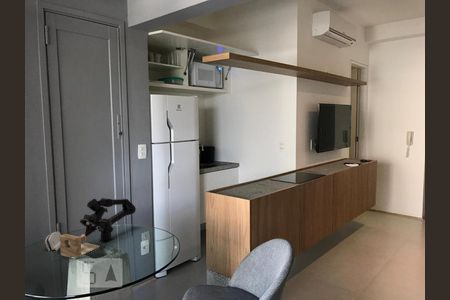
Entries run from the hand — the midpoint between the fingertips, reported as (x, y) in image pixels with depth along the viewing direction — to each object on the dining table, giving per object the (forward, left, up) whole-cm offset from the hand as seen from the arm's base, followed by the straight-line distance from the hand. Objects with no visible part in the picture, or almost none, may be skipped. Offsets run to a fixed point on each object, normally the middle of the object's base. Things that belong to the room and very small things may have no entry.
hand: (85, 236), depth 216 cm
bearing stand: (+4, 0, -9) cm, 10 cm away
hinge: (+5, -24, -9) cm, 26 cm away
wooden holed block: (+7, 0, -3) cm, 7 cm away
